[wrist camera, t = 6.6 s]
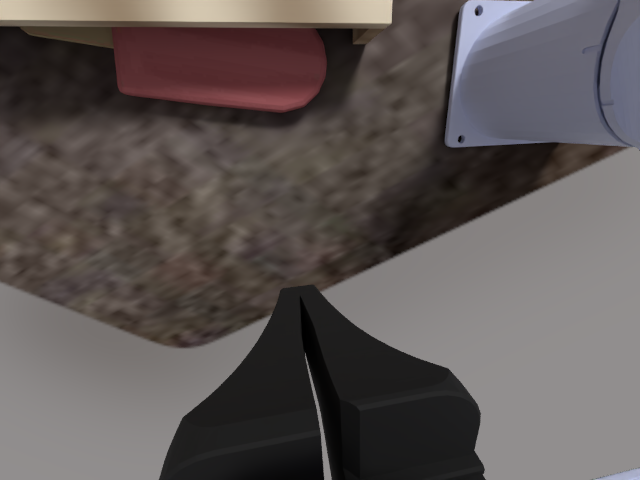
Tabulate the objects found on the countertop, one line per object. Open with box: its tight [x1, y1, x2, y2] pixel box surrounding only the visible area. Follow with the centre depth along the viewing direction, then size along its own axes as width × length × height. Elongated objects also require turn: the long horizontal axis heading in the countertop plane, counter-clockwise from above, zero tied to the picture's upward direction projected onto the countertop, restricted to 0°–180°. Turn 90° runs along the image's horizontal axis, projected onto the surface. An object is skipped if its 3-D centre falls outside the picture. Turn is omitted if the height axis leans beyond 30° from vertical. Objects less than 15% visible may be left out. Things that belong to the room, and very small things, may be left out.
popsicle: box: [20, 26, 327, 113], centre depth 15 cm, size 5×2×15 cm
